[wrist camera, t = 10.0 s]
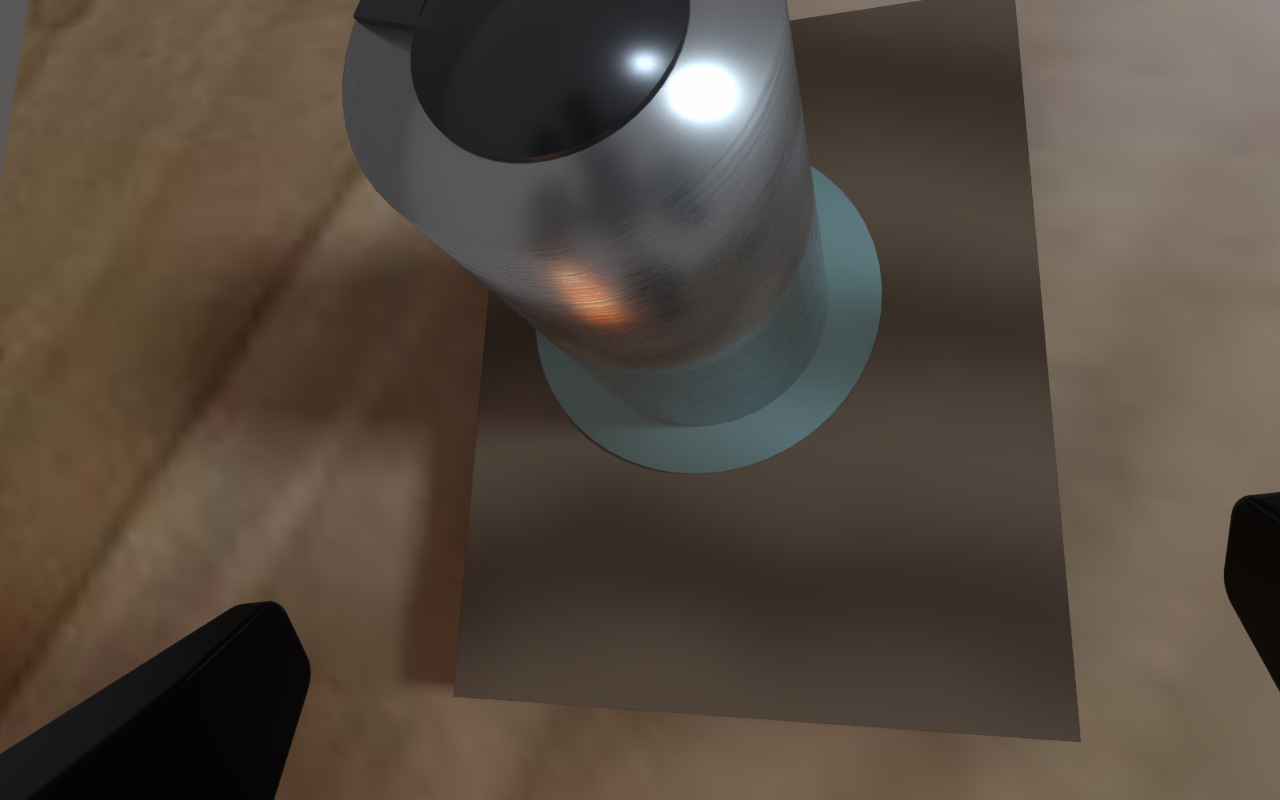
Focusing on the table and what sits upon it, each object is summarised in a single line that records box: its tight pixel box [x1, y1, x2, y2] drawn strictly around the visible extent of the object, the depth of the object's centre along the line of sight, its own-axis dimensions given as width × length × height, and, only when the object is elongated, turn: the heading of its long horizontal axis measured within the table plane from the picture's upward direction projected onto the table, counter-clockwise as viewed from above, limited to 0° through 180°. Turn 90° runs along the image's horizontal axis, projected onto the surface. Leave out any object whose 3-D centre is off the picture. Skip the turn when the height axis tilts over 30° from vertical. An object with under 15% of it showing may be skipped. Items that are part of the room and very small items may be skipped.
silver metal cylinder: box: [342, 0, 829, 427], centre depth 16 cm, size 6×6×11 cm
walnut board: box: [453, 0, 1081, 742], centre depth 21 cm, size 18×14×2 cm
